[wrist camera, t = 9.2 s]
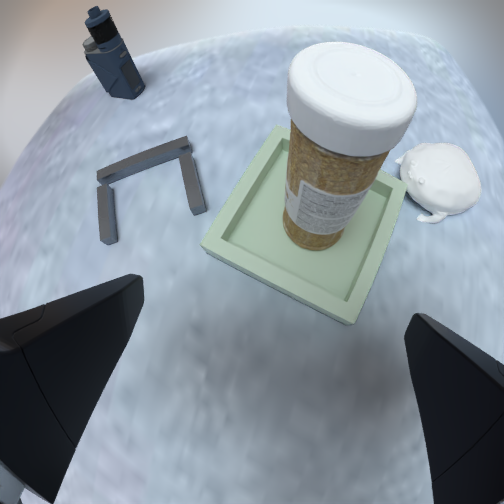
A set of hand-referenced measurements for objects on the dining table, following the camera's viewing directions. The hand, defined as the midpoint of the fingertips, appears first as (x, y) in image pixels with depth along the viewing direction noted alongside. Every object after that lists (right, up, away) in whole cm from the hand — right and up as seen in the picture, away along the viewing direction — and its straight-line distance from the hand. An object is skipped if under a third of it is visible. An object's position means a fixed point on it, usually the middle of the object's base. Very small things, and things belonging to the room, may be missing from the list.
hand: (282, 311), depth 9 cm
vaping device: (-15, +20, +19) cm, 31 cm away
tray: (+3, +4, +12) cm, 13 cm away
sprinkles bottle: (+3, +4, +12) cm, 13 cm away
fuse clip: (-9, +6, +14) cm, 18 cm away
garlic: (+15, +7, +13) cm, 21 cm away
